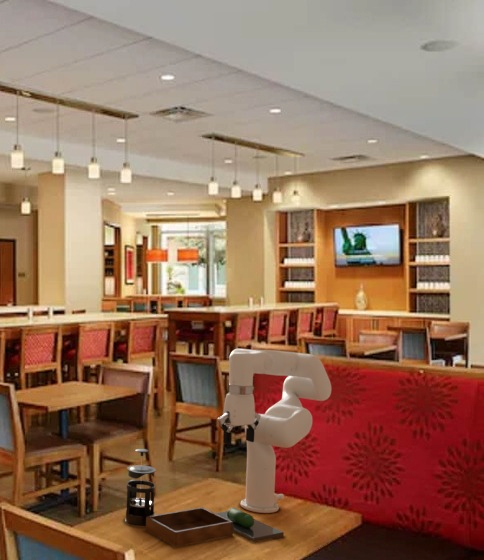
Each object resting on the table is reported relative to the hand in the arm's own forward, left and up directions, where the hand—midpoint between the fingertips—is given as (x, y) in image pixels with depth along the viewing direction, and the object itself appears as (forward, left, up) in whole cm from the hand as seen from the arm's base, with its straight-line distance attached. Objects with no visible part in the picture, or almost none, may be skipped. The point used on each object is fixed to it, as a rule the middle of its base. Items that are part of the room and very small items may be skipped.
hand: (238, 442), depth 237 cm
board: (+5, +9, -24) cm, 26 cm away
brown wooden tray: (+24, +6, -24) cm, 35 cm away
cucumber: (+5, +9, -22) cm, 25 cm away
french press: (+32, -9, -24) cm, 41 cm away
